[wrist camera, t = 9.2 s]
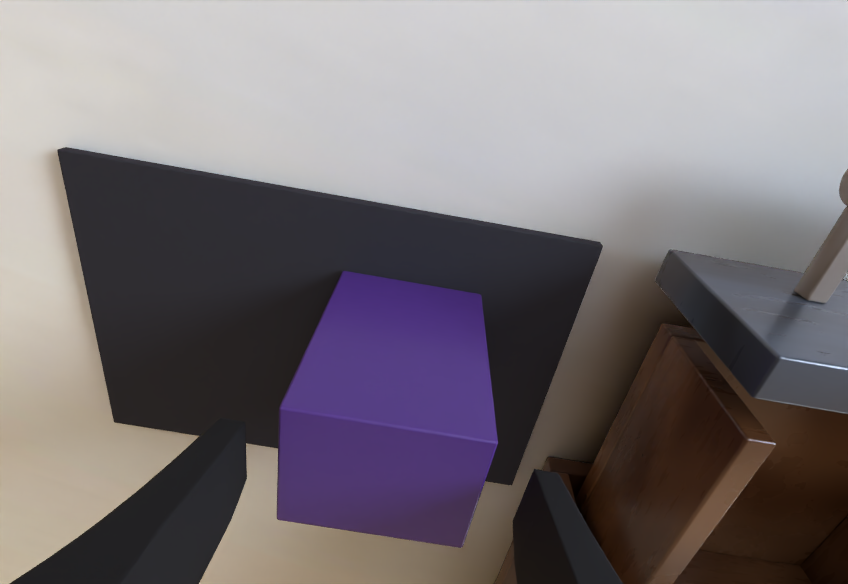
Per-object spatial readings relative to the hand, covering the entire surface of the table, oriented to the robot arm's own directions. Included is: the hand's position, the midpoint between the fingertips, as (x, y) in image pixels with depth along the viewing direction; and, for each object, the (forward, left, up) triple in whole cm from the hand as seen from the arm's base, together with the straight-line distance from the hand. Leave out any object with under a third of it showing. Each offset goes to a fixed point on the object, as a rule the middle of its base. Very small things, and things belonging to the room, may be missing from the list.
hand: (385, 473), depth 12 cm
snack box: (0, 0, -7) cm, 7 cm away
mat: (+3, +2, -7) cm, 8 cm away
